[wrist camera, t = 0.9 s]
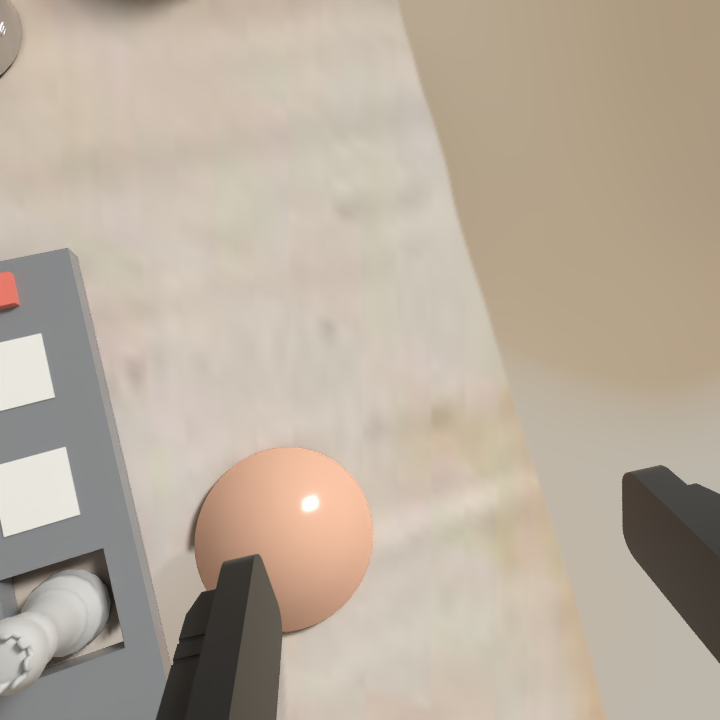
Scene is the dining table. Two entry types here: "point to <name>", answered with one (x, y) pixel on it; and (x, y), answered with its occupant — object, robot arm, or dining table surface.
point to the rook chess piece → (51, 626)
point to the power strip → (69, 492)
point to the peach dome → (289, 530)
